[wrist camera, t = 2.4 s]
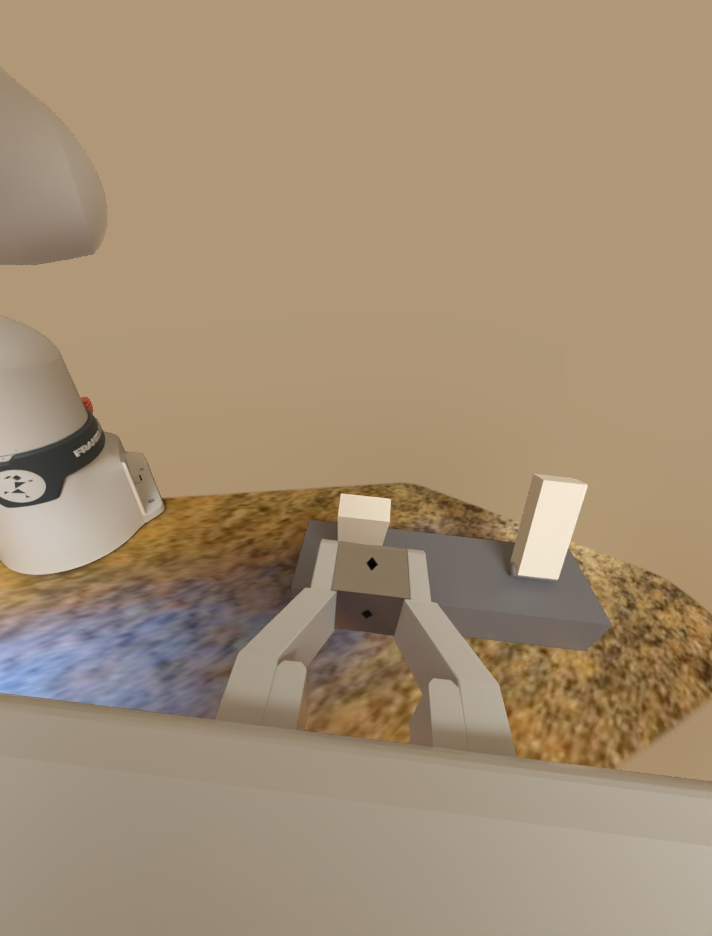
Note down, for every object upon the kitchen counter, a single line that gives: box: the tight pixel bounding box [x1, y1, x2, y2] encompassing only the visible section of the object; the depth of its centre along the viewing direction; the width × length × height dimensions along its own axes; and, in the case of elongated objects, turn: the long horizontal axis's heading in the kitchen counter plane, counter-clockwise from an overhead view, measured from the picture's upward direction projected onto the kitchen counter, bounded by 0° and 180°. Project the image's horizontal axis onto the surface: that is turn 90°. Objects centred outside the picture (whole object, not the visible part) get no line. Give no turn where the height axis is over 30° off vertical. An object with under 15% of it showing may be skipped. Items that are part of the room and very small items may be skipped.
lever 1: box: [338, 494, 391, 546], centre depth 30 cm, size 2×4×11 cm, turn 85°
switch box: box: [291, 520, 612, 651], centre depth 36 cm, size 9×30×5 cm, turn 85°
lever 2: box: [509, 474, 588, 581], centre depth 32 cm, size 2×4×11 cm, turn 86°
